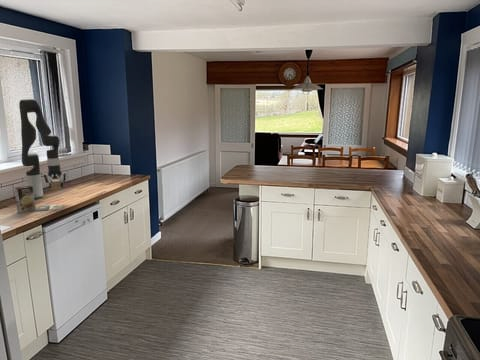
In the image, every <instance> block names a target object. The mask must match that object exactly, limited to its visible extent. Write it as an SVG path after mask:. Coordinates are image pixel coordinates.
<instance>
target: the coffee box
mask: <svg viewBox="0 0 480 360" xmlns="http://www.w3.org/2000/svg"><path fill="white" fill-rule="evenodd" d="M14 194H15V202H16V210H17V212H18V213H20V214H23V213H28V212H32V211H35V210H36V209H37V207H36V201H35V198H34V193H33V187H32V186H28V185H24V186H17V187H14Z"/></svg>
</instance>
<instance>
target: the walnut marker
mask: <svg viewBox="0 0 480 360" xmlns="http://www.w3.org/2000/svg"><path fill="white" fill-rule="evenodd" d="M50 183H51V188H50V190H51V191H52V192H53V191H60V190H62V189H63V187H62V188H61V182H60V180H59V179H52V181H51V182H50Z"/></svg>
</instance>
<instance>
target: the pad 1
mask: <svg viewBox="0 0 480 360" xmlns="http://www.w3.org/2000/svg"><path fill="white" fill-rule="evenodd" d="M50 207H51V204H50V205H42V206H38V207H36V210H34V211H35V213H37V212H45V211H49V208H50Z"/></svg>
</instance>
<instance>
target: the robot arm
mask: <svg viewBox="0 0 480 360" xmlns="http://www.w3.org/2000/svg"><path fill="white" fill-rule="evenodd" d="M18 106H19V115H20V125H21V127H20V133H21V134H20V135H21V136H20V137H21V164H22V166H24V167H31V166H32V168H30V169H29V170H27V171H26V172H25V176H26V181H27V186H32V187H33V193H34V199H36V198H37V199H38V198H41V197H42V198H43V196H44V192H43V182H42V176H41V168H40V157H39V154H37V153H36V152H35V153H34V152H33V153H29V152H30V149H31V147H32V146H33V144H34V143H35V142H36V140H37V131H38V133H39V134H40V138H41V143H42V145H44V146H45V147H51V148H50V149H47V150H46V159H47V161H46V163H47V169H48V173H44V174H43V178H44V180H45V183H48V184H49V186H48V187H49V188H50V189H51V183H50V182H51V181H52V180H60V182H61V188H62V189H63V187H64V182H66V178H67V173H66V172H62V171H61V170H62V169H61V164H60V163H61V162H60V158H59V148H60V141H61V140H60V138H59V137H58V135H55V134H54V135H53V134H52V129H51V128H50V126H49V125H48V123H47V121H46V119H45V117H44V114H43V112H42V109H41V106H40V104H39V102H38V101H37V100H36V98H27V99H24V98H22V99H20V100H19V103H18ZM29 113H30V114H31V113H35V114H36V119H35V126H34V124H33V123H32V122H31V121H30V119H29V115H28V114H29ZM51 134H52V135H51ZM61 175H62V176H63V178H62V177H61ZM48 177H49V179H48Z"/></svg>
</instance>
